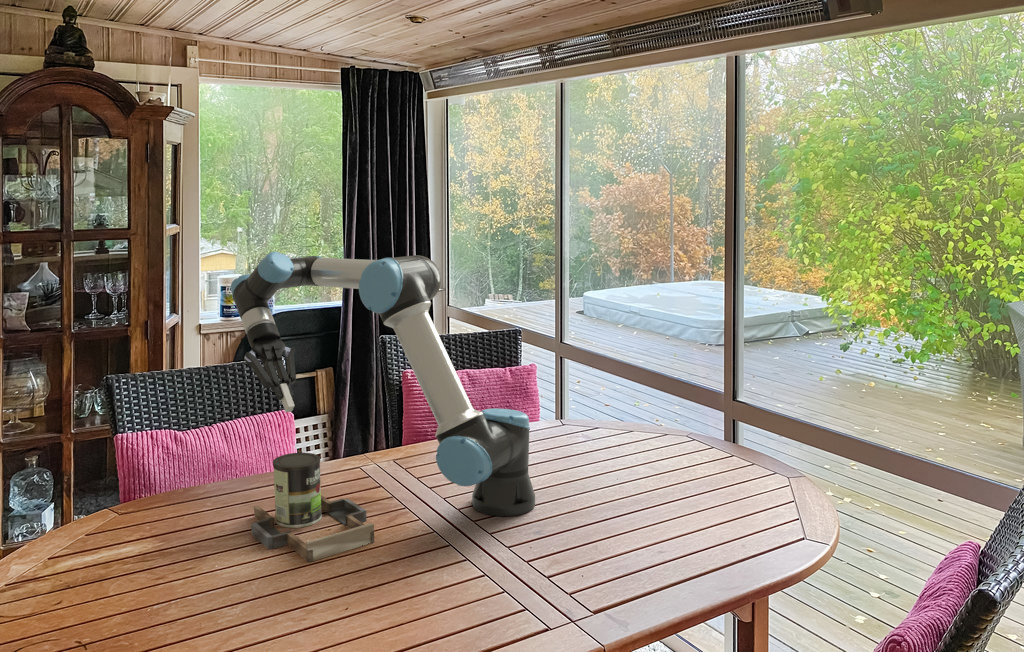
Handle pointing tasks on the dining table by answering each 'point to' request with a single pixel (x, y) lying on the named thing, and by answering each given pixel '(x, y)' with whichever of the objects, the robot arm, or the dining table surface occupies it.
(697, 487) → the dining table surface
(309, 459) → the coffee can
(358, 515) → the box
